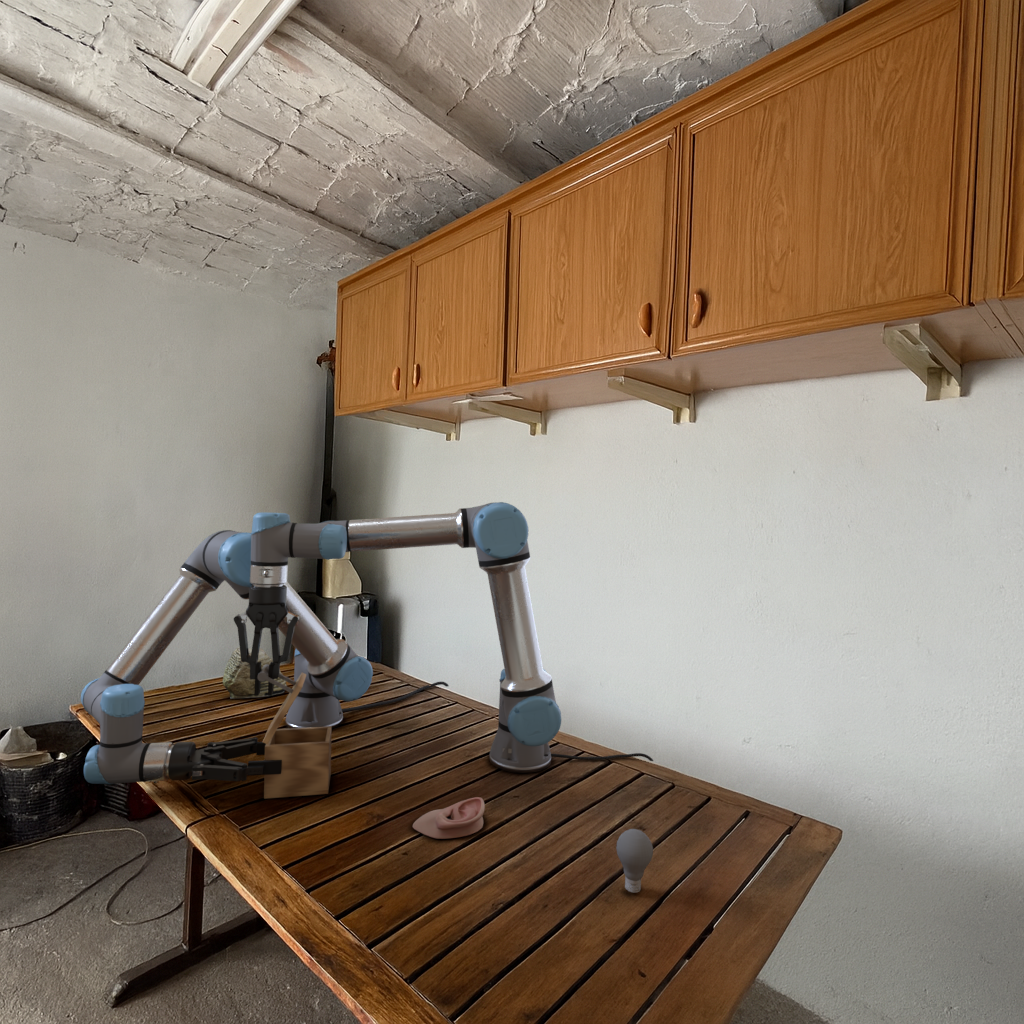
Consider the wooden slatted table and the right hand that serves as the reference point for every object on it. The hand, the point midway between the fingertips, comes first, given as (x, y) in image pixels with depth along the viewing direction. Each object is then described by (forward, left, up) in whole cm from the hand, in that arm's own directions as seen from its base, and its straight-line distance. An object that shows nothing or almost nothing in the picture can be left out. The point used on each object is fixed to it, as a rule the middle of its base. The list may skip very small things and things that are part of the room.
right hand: (264, 693), depth 136 cm
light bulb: (-58, +56, -21) cm, 83 cm away
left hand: (-5, +1, -14) cm, 15 cm away
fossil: (+2, -67, -21) cm, 70 cm away
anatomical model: (-35, +26, -21) cm, 48 cm away
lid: (-5, +1, -3) cm, 6 cm away
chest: (-8, +1, -20) cm, 22 cm away
